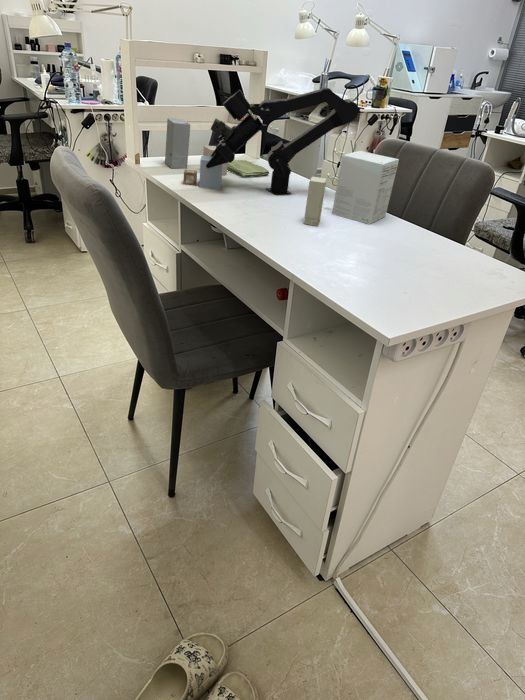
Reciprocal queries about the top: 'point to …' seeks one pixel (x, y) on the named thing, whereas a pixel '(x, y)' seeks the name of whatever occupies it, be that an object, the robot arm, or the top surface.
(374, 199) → the supplement box
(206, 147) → the taupe cardboard box
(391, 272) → the top surface
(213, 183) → the blue box
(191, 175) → the brown picture frame
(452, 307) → the top surface
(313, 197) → the skincare box
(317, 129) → the robot arm
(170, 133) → the skincare box
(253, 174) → the washcloth
